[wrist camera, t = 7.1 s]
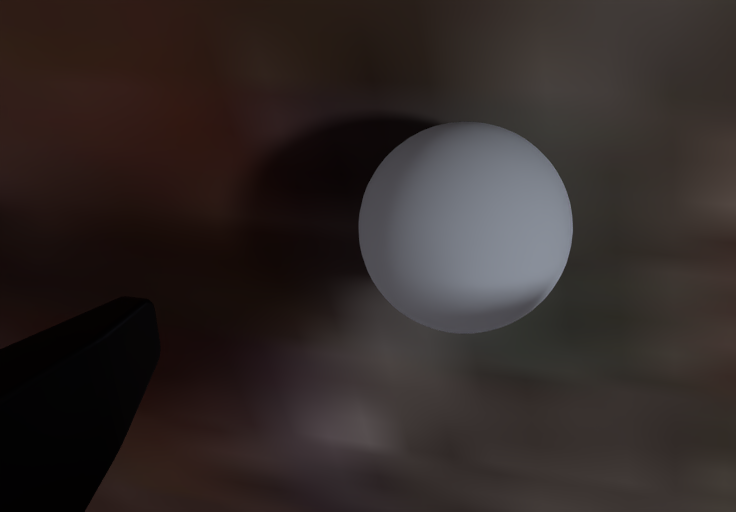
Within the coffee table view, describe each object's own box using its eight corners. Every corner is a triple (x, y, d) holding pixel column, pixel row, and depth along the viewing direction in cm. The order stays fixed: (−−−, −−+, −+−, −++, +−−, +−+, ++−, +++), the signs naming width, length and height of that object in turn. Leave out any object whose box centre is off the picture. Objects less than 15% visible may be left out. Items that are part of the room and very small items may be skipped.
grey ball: (545, 275, 15) (562, 391, 12) (373, 258, 16) (339, 363, 12) (577, 103, 13) (609, 179, 10) (378, 89, 14) (340, 157, 10)
